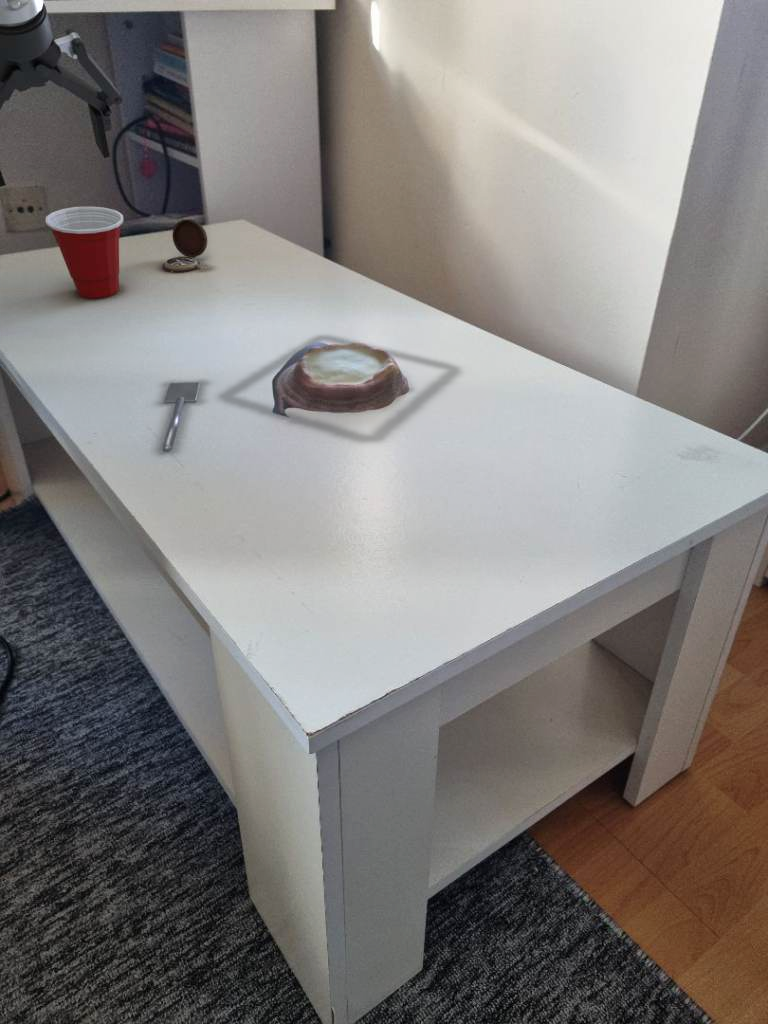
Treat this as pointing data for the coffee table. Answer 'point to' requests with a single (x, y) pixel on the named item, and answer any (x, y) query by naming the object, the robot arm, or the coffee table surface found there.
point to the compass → (187, 246)
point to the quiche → (338, 379)
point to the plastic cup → (89, 248)
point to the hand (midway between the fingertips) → (52, 164)
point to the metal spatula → (178, 407)
